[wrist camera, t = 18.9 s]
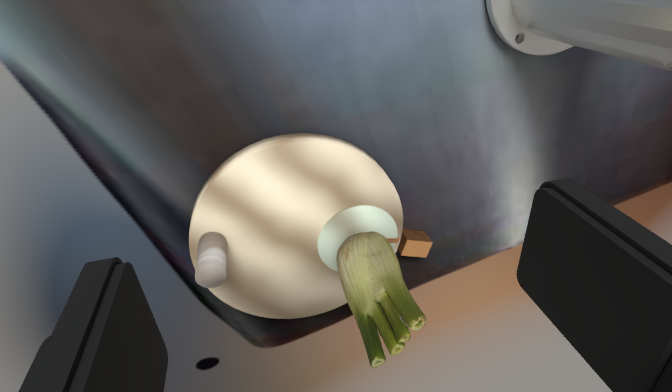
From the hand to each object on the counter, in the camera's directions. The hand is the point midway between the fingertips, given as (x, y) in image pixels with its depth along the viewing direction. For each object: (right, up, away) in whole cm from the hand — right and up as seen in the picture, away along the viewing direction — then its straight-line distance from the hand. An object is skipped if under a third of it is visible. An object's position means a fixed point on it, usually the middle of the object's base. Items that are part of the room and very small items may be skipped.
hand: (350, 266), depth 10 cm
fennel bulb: (+2, -3, +30) cm, 31 cm away
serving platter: (-4, -1, +31) cm, 31 cm away
